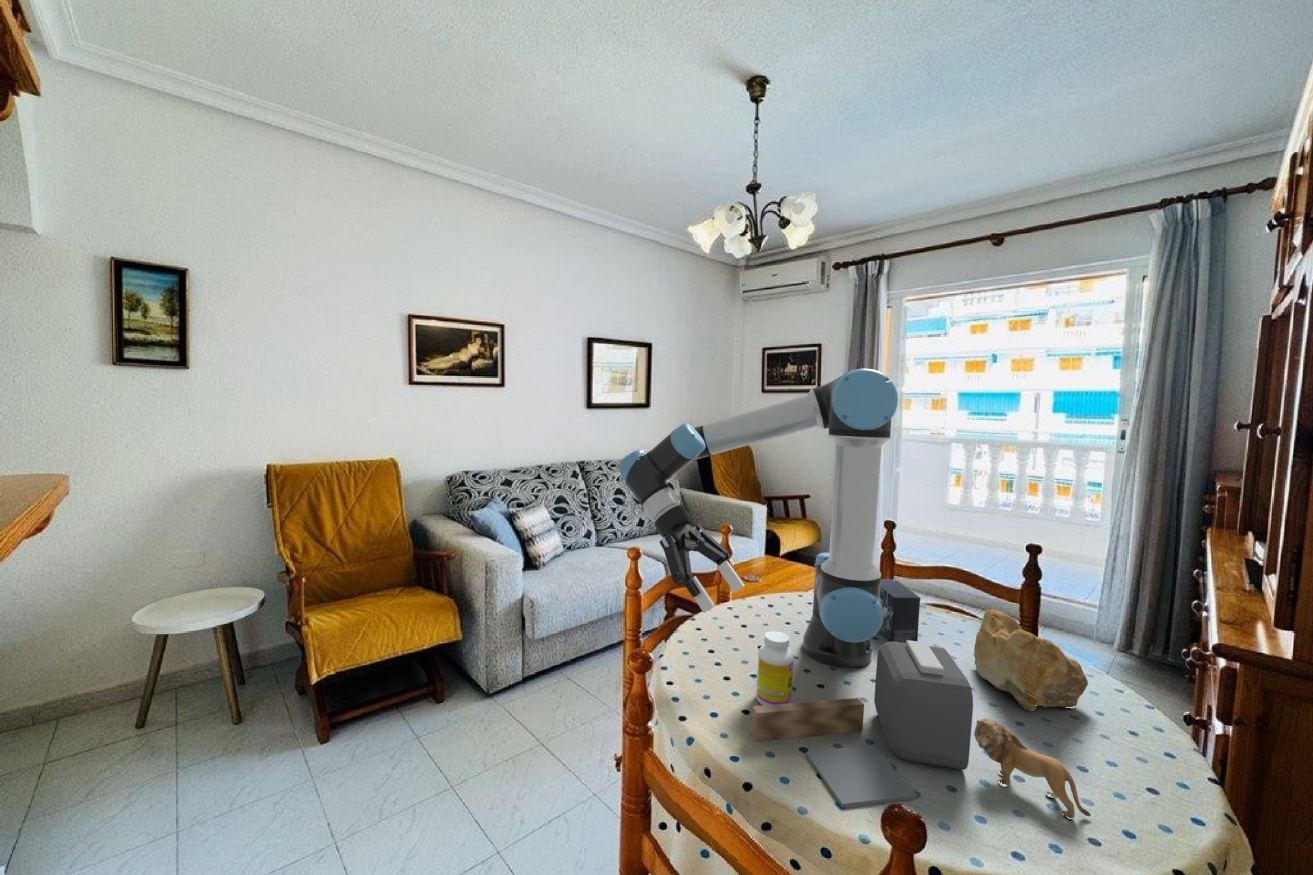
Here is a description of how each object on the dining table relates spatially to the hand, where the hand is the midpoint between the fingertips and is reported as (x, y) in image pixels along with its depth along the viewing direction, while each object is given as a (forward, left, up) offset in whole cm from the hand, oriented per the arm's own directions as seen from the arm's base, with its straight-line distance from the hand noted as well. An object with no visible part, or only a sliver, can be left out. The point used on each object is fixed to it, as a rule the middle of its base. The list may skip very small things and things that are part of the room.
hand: (725, 598), depth 105 cm
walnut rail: (-10, +18, -17) cm, 27 cm away
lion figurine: (-36, +35, -18) cm, 54 cm away
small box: (-51, -17, -18) cm, 57 cm away
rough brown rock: (-62, +13, -18) cm, 66 cm away
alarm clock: (-28, +22, -18) cm, 40 cm away
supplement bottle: (-8, +8, -18) cm, 21 cm away
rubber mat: (-13, +29, -17) cm, 36 cm away
